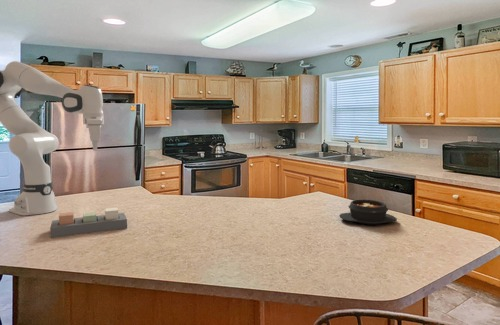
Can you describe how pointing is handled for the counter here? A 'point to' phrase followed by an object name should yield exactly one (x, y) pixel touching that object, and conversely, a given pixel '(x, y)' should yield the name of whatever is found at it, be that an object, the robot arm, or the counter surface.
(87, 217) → the sage green block
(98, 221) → the console
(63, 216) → the terracotta block
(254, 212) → the counter surface
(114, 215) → the cream block
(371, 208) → the casserole
